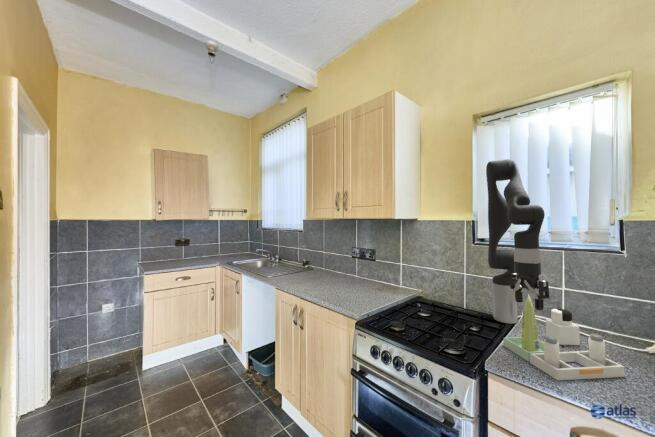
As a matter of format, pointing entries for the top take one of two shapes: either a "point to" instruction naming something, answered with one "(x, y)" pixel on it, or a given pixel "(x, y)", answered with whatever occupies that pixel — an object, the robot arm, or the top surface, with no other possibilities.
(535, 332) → the tube
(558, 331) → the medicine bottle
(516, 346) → the tray
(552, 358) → the bottle
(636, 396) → the top surface
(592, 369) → the holder
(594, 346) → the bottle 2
